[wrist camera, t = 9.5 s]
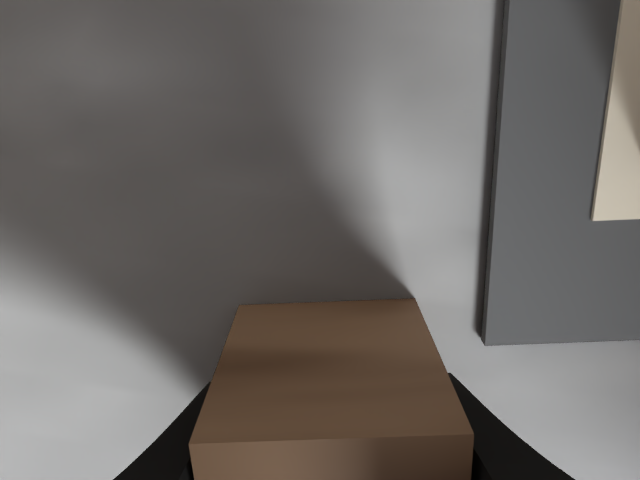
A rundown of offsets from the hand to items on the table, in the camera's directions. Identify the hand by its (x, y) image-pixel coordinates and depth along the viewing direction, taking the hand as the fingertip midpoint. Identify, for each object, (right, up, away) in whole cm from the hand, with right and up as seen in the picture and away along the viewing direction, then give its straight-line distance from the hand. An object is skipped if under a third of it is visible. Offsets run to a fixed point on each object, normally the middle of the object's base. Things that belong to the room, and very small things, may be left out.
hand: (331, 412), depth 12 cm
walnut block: (0, 0, +1) cm, 2 cm away
